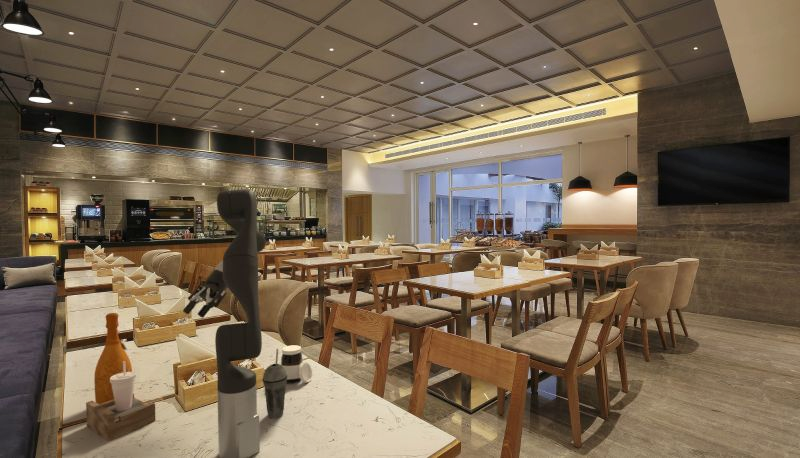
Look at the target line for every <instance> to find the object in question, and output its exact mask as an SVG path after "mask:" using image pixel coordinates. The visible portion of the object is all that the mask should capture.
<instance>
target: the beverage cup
mask: <svg viewBox="0 0 800 458" xmlns="http://www.w3.org/2000/svg"><path fill="white" fill-rule="evenodd" d="M278 357H279V349H278V348H276V354H275V363H272V364H270V365H268V366H267V367H266V368H265V370H264V371H263V375H262V383H263V387H264V395H265V402H266V404H265V405H266V412H267V417H268V419H279V418H281V417H283V415H284V410H285V400H286V399H285V398H286V397H285V396H286V384H287V382H286V381H287V373H286V370H285V368H284V367H283V366H282V365H281V363H278V360H279V358H278Z"/></svg>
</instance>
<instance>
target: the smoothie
mask: <svg viewBox="0 0 800 458" xmlns="http://www.w3.org/2000/svg"><path fill="white" fill-rule="evenodd" d="M136 378H137V373H136V372H135V371H132V372H126V365H125V361H123V373H119V374H116V375H114V376H112V377H111V378H110V383H111V384H112V390H113V395H114V401H115V406H116V410H117V411H124V410H127V409H129V408H131V406H132V398H133V393H134V388H135V380H136Z"/></svg>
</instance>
